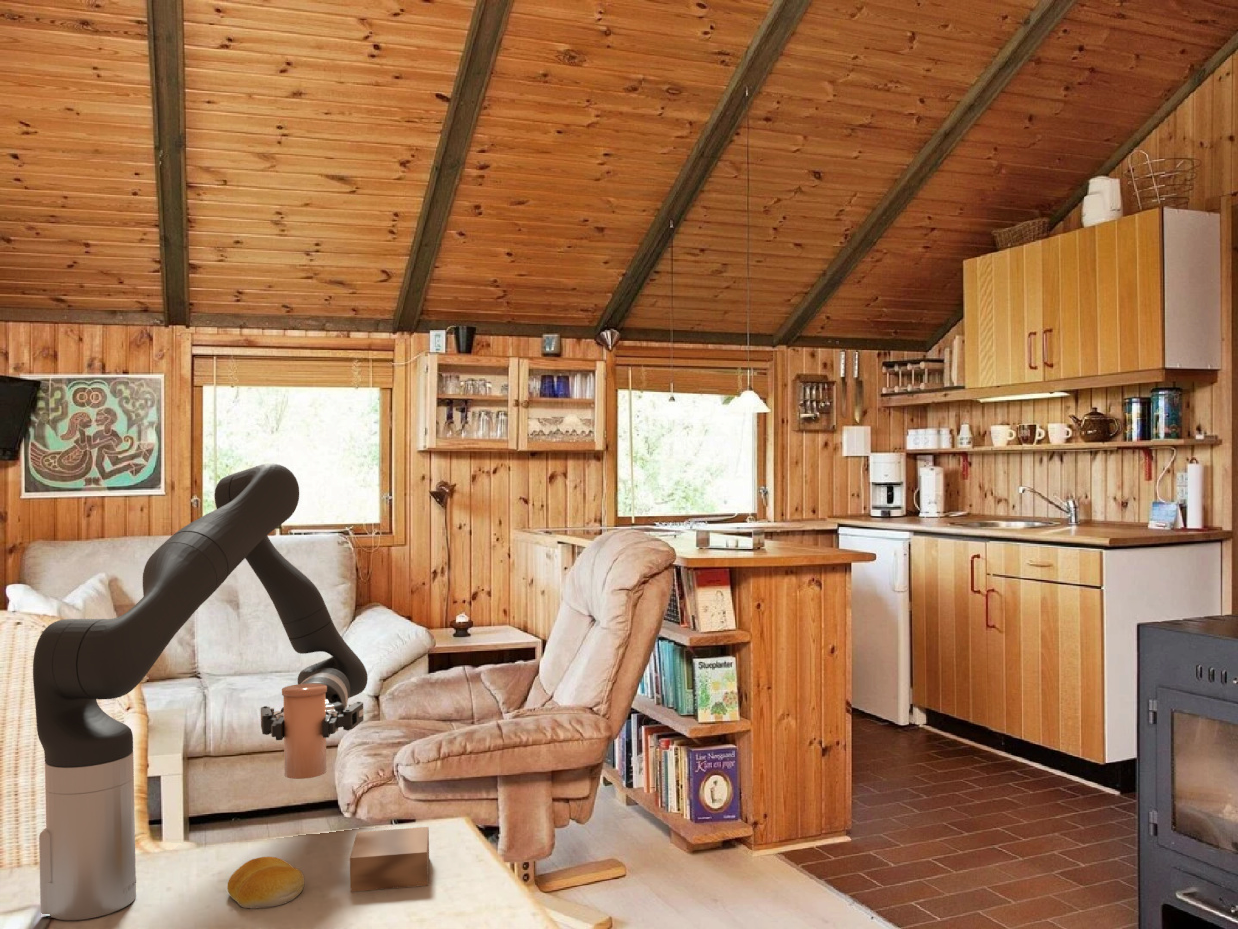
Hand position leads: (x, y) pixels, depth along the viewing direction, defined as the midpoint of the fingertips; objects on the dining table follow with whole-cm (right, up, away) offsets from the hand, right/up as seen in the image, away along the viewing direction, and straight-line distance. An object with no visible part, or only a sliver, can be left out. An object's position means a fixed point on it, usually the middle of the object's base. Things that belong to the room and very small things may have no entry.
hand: (302, 731), depth 132 cm
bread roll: (-2, -18, -9) cm, 20 cm away
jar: (0, -6, +2) cm, 7 cm away
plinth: (+12, -17, -4) cm, 21 cm away
